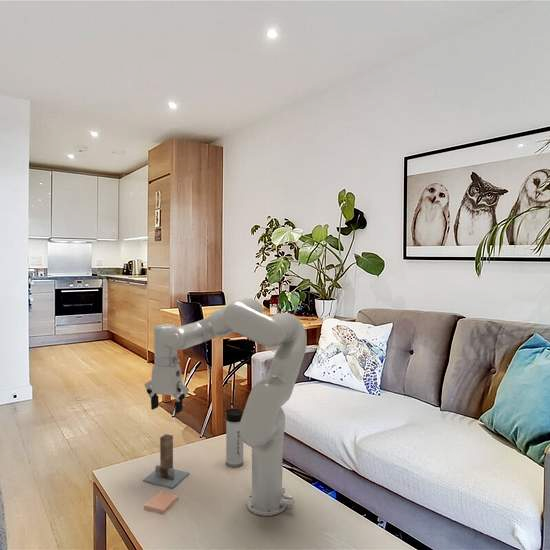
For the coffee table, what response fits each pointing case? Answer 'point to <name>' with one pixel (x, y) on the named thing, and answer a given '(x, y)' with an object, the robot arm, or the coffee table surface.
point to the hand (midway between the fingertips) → (166, 410)
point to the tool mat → (166, 482)
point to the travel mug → (234, 438)
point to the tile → (161, 502)
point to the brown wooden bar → (166, 458)
